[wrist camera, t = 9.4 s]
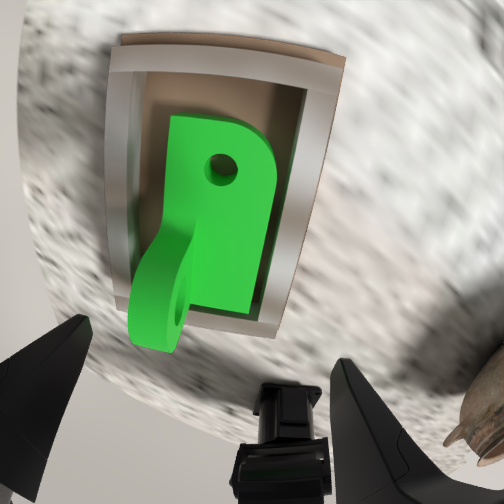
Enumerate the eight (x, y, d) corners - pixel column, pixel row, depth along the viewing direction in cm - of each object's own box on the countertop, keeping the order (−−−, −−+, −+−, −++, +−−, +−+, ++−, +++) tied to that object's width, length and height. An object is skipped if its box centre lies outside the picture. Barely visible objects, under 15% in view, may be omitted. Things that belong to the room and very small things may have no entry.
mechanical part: (250, 295, 22) (241, 386, 15) (169, 280, 22) (134, 364, 15) (285, 127, 16) (297, 159, 9) (181, 112, 16) (117, 135, 9)
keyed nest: (278, 321, 25) (278, 348, 22) (125, 294, 24) (112, 317, 22) (342, 58, 15) (355, 53, 12) (129, 36, 14) (106, 30, 12)
